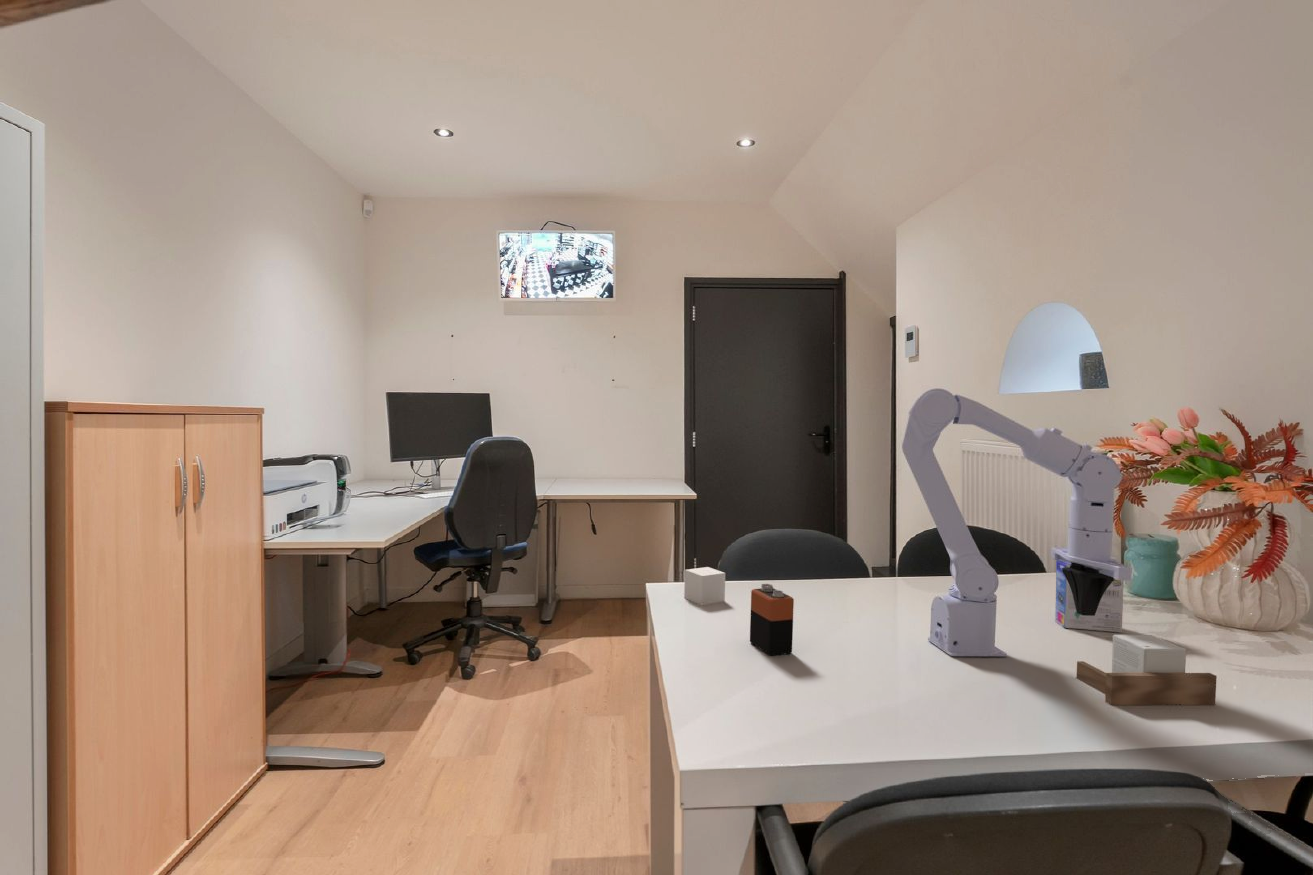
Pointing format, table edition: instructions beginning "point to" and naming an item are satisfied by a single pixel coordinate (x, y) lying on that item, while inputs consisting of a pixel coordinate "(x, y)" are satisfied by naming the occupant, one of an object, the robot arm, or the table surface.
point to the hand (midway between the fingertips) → (1085, 614)
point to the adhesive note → (704, 585)
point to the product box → (1146, 655)
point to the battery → (771, 620)
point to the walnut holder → (1150, 687)
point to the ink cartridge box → (1107, 610)
